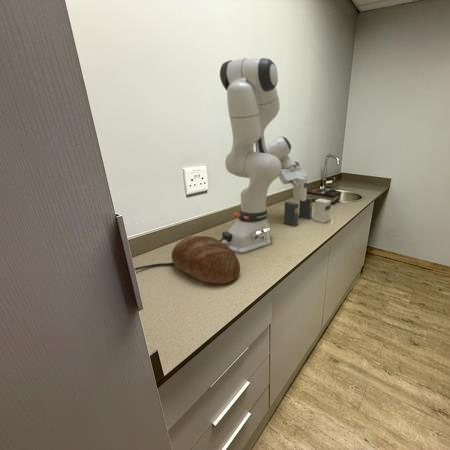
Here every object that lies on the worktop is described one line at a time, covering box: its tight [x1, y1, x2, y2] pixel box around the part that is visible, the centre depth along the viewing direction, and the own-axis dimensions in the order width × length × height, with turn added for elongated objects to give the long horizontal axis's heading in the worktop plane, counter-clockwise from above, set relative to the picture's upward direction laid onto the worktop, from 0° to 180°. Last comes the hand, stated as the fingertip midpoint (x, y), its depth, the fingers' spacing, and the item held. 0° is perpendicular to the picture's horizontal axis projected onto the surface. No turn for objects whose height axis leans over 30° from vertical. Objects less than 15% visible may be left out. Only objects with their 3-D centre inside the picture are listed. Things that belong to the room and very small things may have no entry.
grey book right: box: [298, 197, 314, 220], centre depth 143 cm, size 3×7×12 cm, turn 63°
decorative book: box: [306, 186, 342, 206], centre depth 184 cm, size 19×8×30 cm
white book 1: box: [292, 177, 308, 202], centre depth 133 cm, size 3×7×12 cm, turn 56°
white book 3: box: [318, 199, 332, 222], centre depth 140 cm, size 3×7×12 cm, turn 56°
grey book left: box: [283, 201, 299, 227], centre depth 131 cm, size 3×7×12 cm, turn 56°
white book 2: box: [313, 200, 328, 224], centre depth 138 cm, size 3×7×12 cm, turn 56°
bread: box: [171, 235, 241, 284], centre depth 85 cm, size 16×29×11 cm, turn 57°
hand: (300, 187), depth 132 cm, fingers closed on white book 1, 3 cm apart
